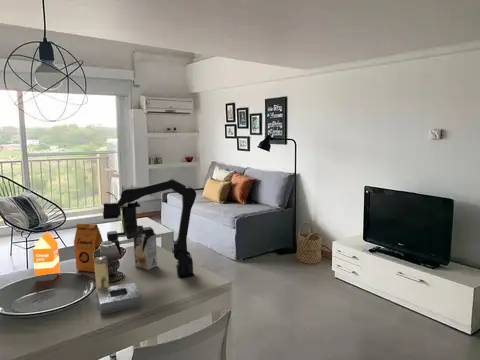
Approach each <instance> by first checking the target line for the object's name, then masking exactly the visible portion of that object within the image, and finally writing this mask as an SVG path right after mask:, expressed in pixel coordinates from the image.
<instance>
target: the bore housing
mask: <svg viewBox="0 0 480 360" xmlns="http://www.w3.org/2000/svg"><path fill="white" fill-rule="evenodd" d="M141 296H142V295H141V294H140V291H139V289H138V286H137V284H136V282H130V283H125V284H120V285H119V284H118V285H112V286H109V287H106V288H100V289H98V294H97V299H98V307H99V312H100V313H99V314H100V315H106V314H111V313H116V312H121V311H126V310H131V309H136V308H141V307H142V298H141Z"/></svg>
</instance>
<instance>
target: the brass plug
mask: <svg viewBox="0 0 480 360" xmlns="http://www.w3.org/2000/svg"><path fill="white" fill-rule="evenodd" d="M94 263H95V272H94V275H95V290H96V291H95V292H96V295H98V289H100V288H106V287H110V283H109V268H108V267H109V266H108V265H109V264H108V256H106V255H105V256H100V257H96V258H95V259H94Z"/></svg>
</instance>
